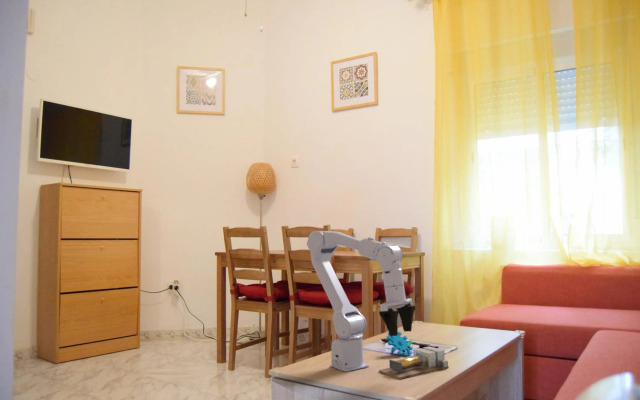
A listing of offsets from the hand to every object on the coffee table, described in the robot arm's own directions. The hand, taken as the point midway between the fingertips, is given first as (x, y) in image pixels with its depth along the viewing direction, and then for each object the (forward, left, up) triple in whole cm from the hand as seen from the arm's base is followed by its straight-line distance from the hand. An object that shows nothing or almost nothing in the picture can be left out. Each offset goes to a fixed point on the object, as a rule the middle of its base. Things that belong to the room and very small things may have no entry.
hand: (400, 333), depth 140 cm
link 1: (+12, +3, -11) cm, 17 cm away
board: (+7, +2, -12) cm, 14 cm away
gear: (+18, +19, -12) cm, 29 cm away
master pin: (+4, +2, -11) cm, 12 cm away
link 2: (+16, +2, -11) cm, 20 cm away
